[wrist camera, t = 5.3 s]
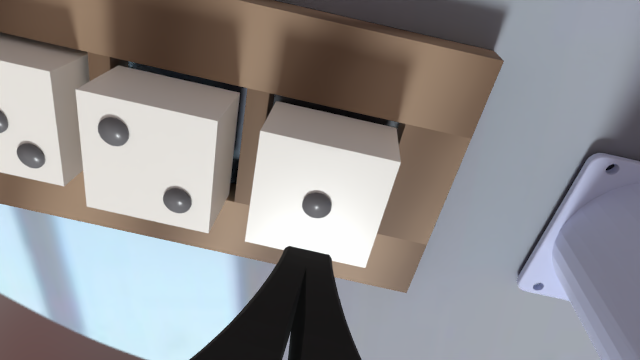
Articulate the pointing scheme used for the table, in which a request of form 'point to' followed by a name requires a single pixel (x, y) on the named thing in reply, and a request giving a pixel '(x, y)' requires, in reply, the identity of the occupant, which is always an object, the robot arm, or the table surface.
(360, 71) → the tile board
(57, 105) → the three dot tile
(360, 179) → the one dot tile
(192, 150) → the two dot tile
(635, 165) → the robot arm
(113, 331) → the table surface
